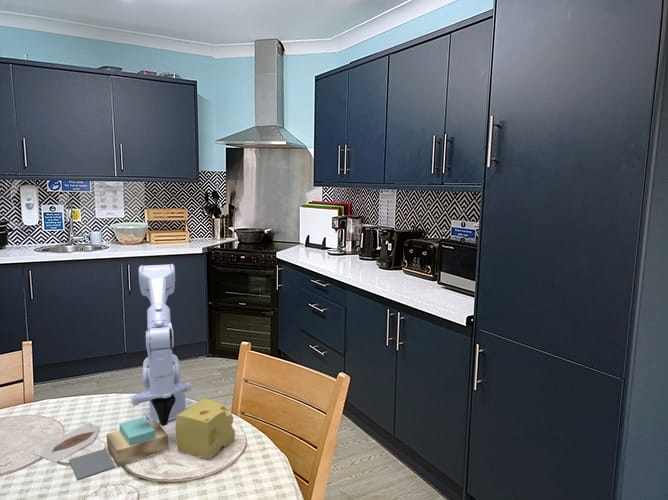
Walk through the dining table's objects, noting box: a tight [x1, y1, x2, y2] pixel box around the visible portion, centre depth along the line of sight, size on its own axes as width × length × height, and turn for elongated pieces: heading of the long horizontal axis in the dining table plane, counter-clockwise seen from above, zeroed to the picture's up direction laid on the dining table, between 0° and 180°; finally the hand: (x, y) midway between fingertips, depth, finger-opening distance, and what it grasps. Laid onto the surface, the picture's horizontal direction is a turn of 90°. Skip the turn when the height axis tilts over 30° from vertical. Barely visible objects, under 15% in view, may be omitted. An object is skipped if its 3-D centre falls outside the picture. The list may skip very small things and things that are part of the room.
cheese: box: [175, 398, 236, 460], centre depth 120 cm, size 10×11×10 cm
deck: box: [106, 420, 170, 468], centre depth 119 cm, size 12×10×4 cm
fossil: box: [37, 422, 101, 464], centre depth 123 cm, size 16×1×10 cm
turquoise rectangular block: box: [118, 416, 155, 446], centre depth 119 cm, size 6×9×2 cm, turn 38°
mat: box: [68, 448, 116, 481], centre depth 113 cm, size 8×10×1 cm
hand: (163, 424), depth 123 cm, fingers closed
